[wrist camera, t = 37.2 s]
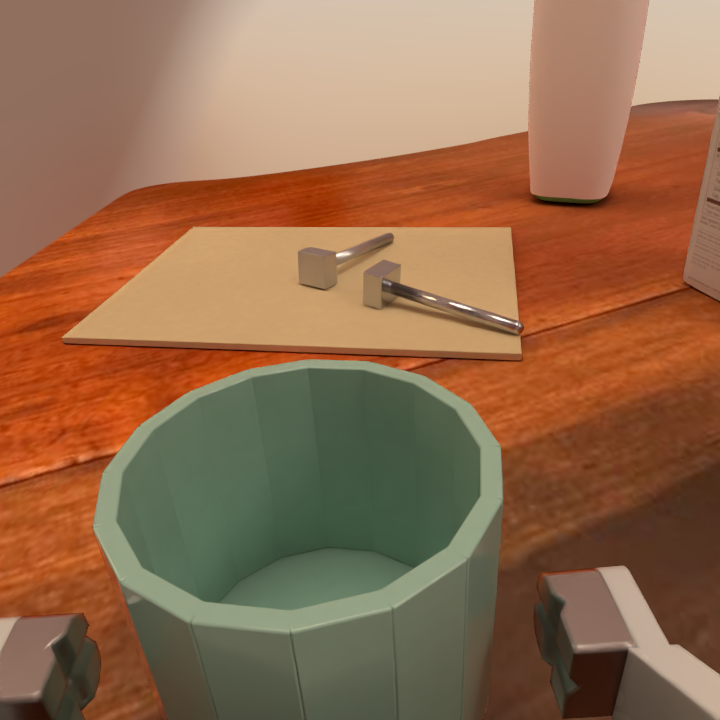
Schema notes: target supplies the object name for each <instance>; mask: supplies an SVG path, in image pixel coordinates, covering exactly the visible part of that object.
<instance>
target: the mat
mask: <svg viewBox="0 0 720 720" xmlns="http://www.w3.org/2000/svg"><path fill="white" fill-rule="evenodd" d="M386 233H392V234H393V235H394V240H393V242H391V243H389V244H387V245H384V246H382V247H380V248H377V249H375V250H373V251H370V252H368V253H366V254H363V255H361V256H359V257H356V258H354V259H352V260H349V261H347V262H345V263H342V264H340V265H338V266H337V284H336V285H333V286H331V287H329V288H327V289H321V288H317V287H313V286H309V285H305V284H300V283H299V272H298V251H300V250H302V249H305V248H308V247H314V248H319V249H324V250H329V251H334V252H336V254H337V253H339V252H342V251H344V250H346V249H349V248H351V247H354V246H356V245H359V244H361V243H364V242H366V241H369V240H371V239H374V238H376V237H379V236H381V235H383V234H386ZM382 260H387V261H390V262H393V263H397V264H400V265H401V277H400V284H403V285H407V286H410V287H413V288H416V289H419V290H422V291H426V292H429V293H432V294H435V295H438V296H441V297H445V298H448V299H451V300H454V301H457V302H460V303H463V304H467V305H470V306H473V307H476V308H479V309H482V310H486V311H489V312H492V313H495V314H498V315H501V316H505V317H508V318H511V319H514V320H517V321H519V315H518V304H517V292H516V281H515V269H514V257H513V246H512V234H511V228H438V227H193V228H192V229H191V230H189V231H188V232H187V233H186V234H185V235H183V236H182V237H181V238H180V239H179V240H177V241H176V242H175V243H174V244H173V245H171V246H170V247H169V248H168V249H167V250H165V251H164V252H163V253H162V254H161V255H160V256H158V257H157V258H156V259H155V260H154V261H152V262H151V263H150V264H149V265H148V266H146V267H145V268H144V269H143V270H142V271H140V272H139V273H138V274H137V275H136V276H134V277H133V278H132V279H131V280H130V281H128V282H127V283H126V284H125V285H124V286H123V287H121V288H120V289H119V290H118V291H117V292H115V293H114V294H113V295H112V296H111V297H109V298H108V299H107V300H106V301H105V302H103V303H102V304H101V305H100V306H99V307H97V308H96V309H95V310H94V311H93V312H92V313H90V314H89V315H88V316H87V317H86V318H84V319H83V320H82V321H81V322H80V323H78V324H77V325H76V326H75V327H74V328H72V329H71V330H70V331H69V332H68V333H66V334H65V335H64V336H63V337H62V338H63V341H64V343H71V344H98V345H124V346H151V347H177V348H204V349H230V350H257V351H283V352H310V353H336V354H363V355H389V356H416V357H442V358H469V359H495V360H521V358H522V350H521V339H520V334H519V335H514V334H511V333H508V332H505V331H502V330H499V329H496V328H493V327H490V326H487V325H484V324H481V323H478V322H475V321H471V320H468V319H465V318H462V317H459V316H456V315H453V314H450V313H447V312H444V311H441V310H438V309H435V308H432V307H429V306H426V305H423V304H420V303H417V302H414V301H410V300H407V299H404V298H401V297H398V298H397V299H395V300H394V301H392V302H391V303H389V304H388V305H387V306H385V307H384V308H382V309H381V310H379V309H376V308H373V307H370V306H367V305H365V304H363V272H364V271H365V270H367V269H369V268H370V267H372V266H374V265H375V264H377V263H379V262H380V261H382Z"/></svg>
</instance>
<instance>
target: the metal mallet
mask: <svg viewBox="0 0 720 720" xmlns="http://www.w3.org/2000/svg"><path fill="white" fill-rule="evenodd" d="M400 277H401V265H400V264H397V263H393V262H390V261H387V260H382V261H380V262H379V263H377V264H375V265H374V266H372V267H370V268H369V269H367V270H365V271H364V272H363V304H365V305H367V306H370V307H373V308H376V309H379V310H381V309H382V308H384V307H385V306H387V305H388V304H389V303H391V302H392V301H394V300H395V299H397V298H398V297H401V298H404V299H407V300H410V301H414V302H417V303H420V304H423V305H426V306H429V307H432V308H435V309H438V310H441V311H444V312H447V313H450V314H453V315H456V316H459V317H462V318H465V319H468V320H471V321H475V322H478V323H481V324H484V325H487V326H490V327H493V328H496V329H499V330H502V331H505V332H508V333H511V334H514V335H519V334H521V333H522V332H523V330H524V326H523V324H522V323H521V322H520V321H517V320H514V319H511V318H508V317H505V316H501V315H498V314H495V313H492V312H489V311H486V310H482V309H479V308H476V307H473V306H470V305H467V304H463V303H460V302H457V301H454V300H451V299H448V298H445V297H441V296H438V295H435V294H432V293H429V292H426V291H422V290H419V289H416V288H413V287H410V286H407V285H403V284H400Z"/></svg>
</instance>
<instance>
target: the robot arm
mask: <svg viewBox="0 0 720 720" xmlns="http://www.w3.org/2000/svg"><path fill="white" fill-rule="evenodd" d="M537 590H538V593H539V596H540V599H539V600H538V601H537V602H536V603H535V604H534V628H535V635H536V639H537V643H538V647H539V650H540V653H541V656H542V659H544V660H545V661H546V662H547V663H548V664H549V665H550V666H552V672H551V679H550V683H551V686H552V689H553V692H554V695H555V698H556V701H557V704H558V707H559V710H560V713H561V715H562V718H563V719H568V718H585V717H602V716H612V719H613V720H720V674H718V673H717V672H715V671H714V670H713V669H711V668H710V667H709V666H707V665H706V664H704V663H703V662H702V661H700V660H699V659H698V658H696V657H695V656H693V655H692V654H691V653H689V652H688V651H687V650H685V649H684V648H682V647H681V646H680V645H678V644H676V645H669V643H668V641H667V639H666V637H665V635H664V634H663V632H662V630H661V628H660V626H659V624H658V623H657V621H656V619H655V617H654V615H653V613H652V611H651V610H650V608H649V606H648V604H647V602H646V600H645V599H644V597H643V595H642V593H641V591H640V589H639V588H638V586H637V584H636V582H635V580H634V578H633V577H632V575H631V573H630V571H629V570H628V569H627V568H626V567H625V566H614V567H602V568H595V569H594V568H585V569H575V570H564V571H554V572H544V573H540V575H539V576H538V580H537ZM88 627H89V624H88V622H87V620H86V618H85V616H84V614H83V613H69V614H52V615H34V616H19V617H6V618H0V720H85V718H84V716H83V713H82V710H83V709H84V708H85V707H86V705H87V704H88V703H89V702H90V701H91V700H92V699H93V698H94V697H95V694H96V691H97V687H98V684H99V680H100V670H101V658H100V651H99V648H98V646H97V643H96V641H94V640H93V639H91V638H89V637H88V636H86V632H87V630H88Z"/></svg>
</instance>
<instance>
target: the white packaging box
mask: <svg viewBox="0 0 720 720" xmlns="http://www.w3.org/2000/svg"><path fill="white" fill-rule="evenodd" d="M683 280H684V281H685V282H686V283H687V284H689V285H691V286H692V287H694V288H696V289H698V290H699V291H701V292H703V293H705V294H707V295H709V296H711V297H713V298H715V299H717V300H718V301H720V98H719V102H718V107H717V112H716V116H715V121H714V126H713V131H712V136H711V141H710V146H709V151H708V156H707V161H706V165H705V170H704V175H703V180H702V185H701V190H700V195H699V200H698V205H697V209H696V214H695V220H694V224H693V229H692V233H691V238H690V243H689V248H688V253H687V258H686V263H685V268H684V273H683Z"/></svg>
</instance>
